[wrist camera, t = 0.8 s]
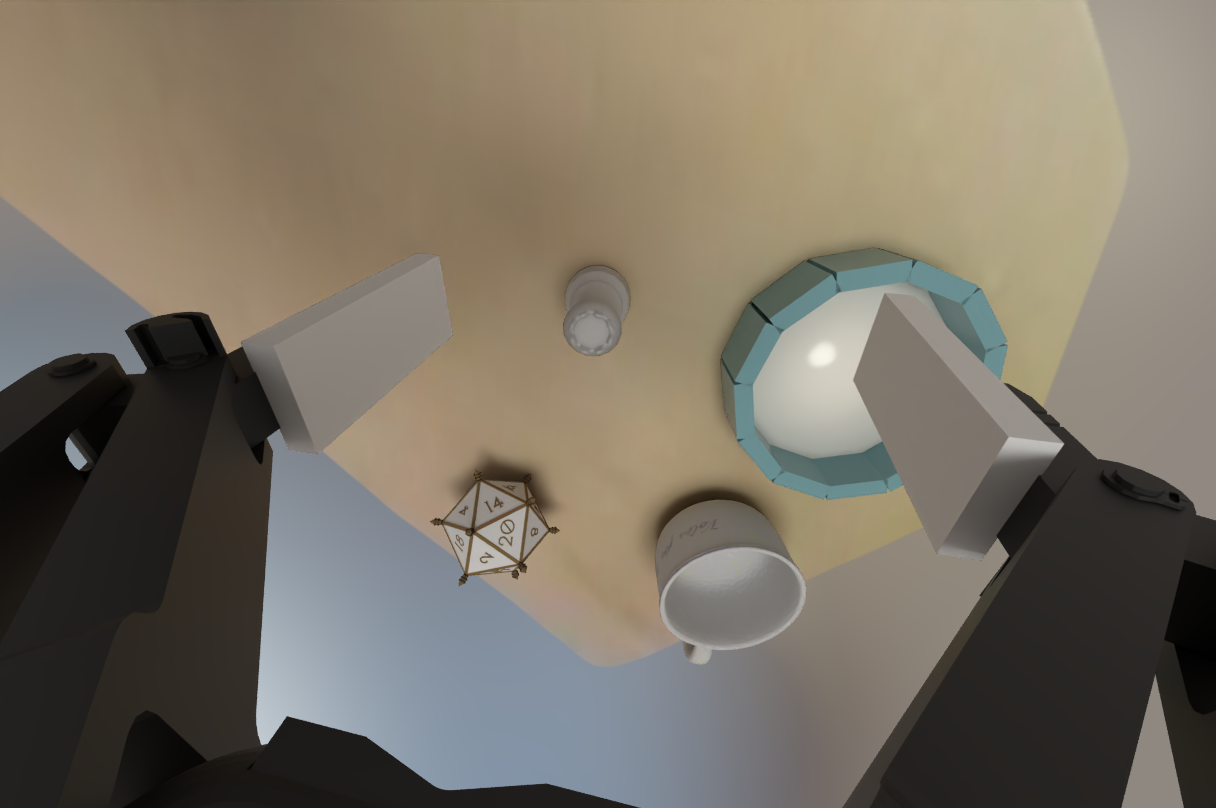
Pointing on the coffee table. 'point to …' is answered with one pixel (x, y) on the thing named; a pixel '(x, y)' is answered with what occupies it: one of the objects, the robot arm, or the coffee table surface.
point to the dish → (833, 366)
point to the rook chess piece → (595, 310)
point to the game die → (495, 527)
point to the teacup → (725, 579)
